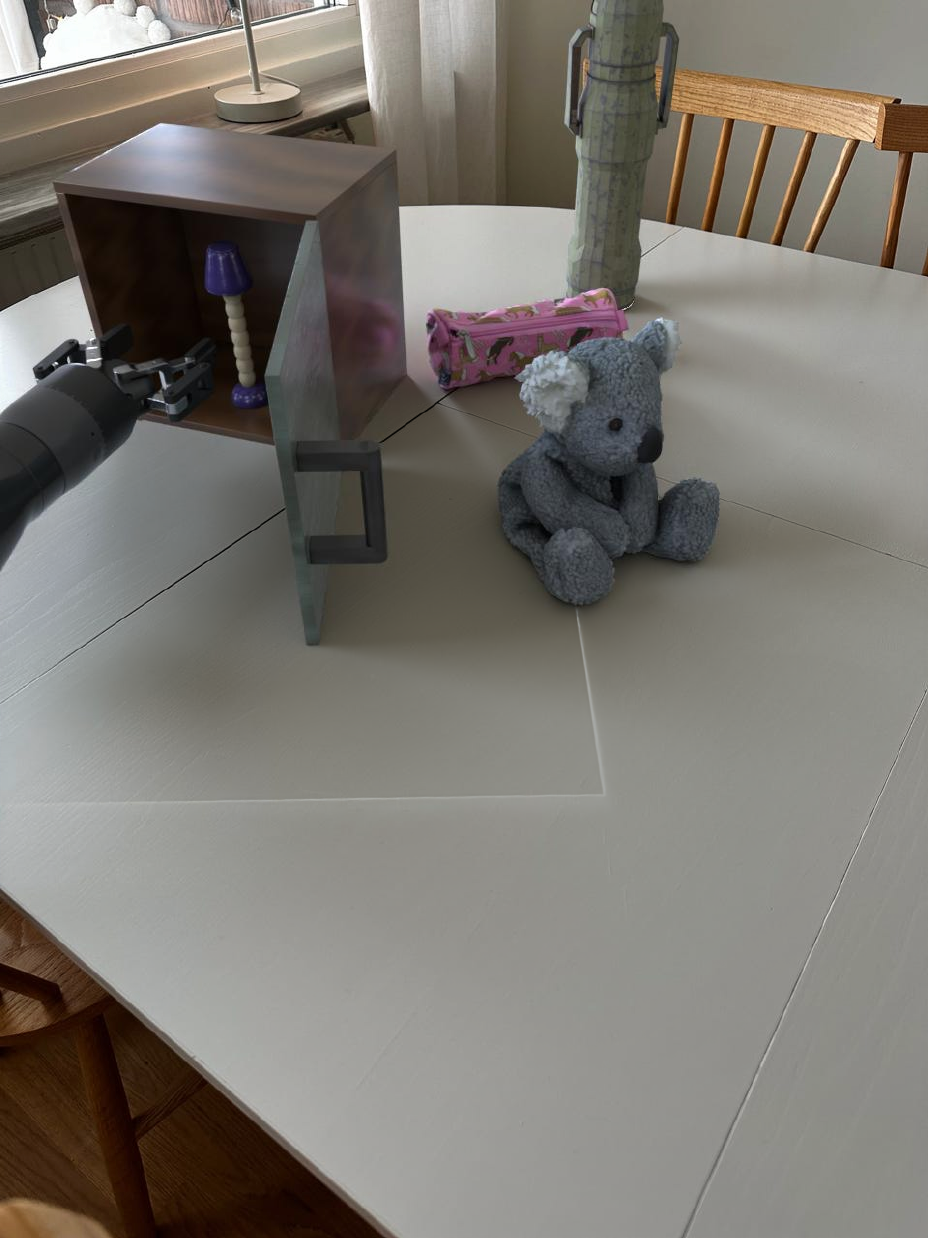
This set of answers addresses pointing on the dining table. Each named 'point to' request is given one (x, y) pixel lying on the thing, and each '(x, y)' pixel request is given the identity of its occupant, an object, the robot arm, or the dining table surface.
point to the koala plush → (601, 467)
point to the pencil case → (516, 335)
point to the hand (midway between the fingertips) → (170, 340)
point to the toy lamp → (235, 316)
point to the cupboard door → (317, 441)
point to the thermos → (615, 139)
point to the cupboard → (269, 241)
